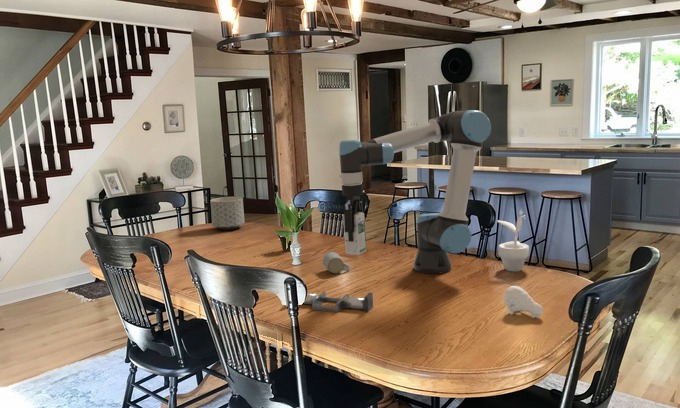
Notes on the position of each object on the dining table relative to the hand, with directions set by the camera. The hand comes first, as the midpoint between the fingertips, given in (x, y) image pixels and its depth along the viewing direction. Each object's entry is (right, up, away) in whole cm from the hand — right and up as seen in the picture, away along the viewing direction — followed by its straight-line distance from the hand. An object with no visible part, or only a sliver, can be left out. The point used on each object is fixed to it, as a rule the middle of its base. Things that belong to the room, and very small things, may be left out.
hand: (355, 247), depth 193 cm
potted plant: (+63, -11, +22) cm, 68 cm away
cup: (-31, -8, +70) cm, 77 cm away
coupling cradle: (-9, -19, -9) cm, 23 cm away
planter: (-73, 0, +130) cm, 149 cm away
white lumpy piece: (+52, -19, -25) cm, 61 cm away
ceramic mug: (-7, -13, +31) cm, 34 cm away
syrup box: (0, -2, 0) cm, 2 cm away
